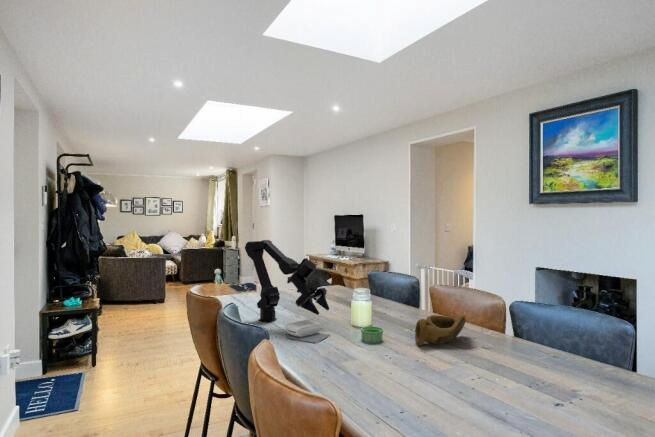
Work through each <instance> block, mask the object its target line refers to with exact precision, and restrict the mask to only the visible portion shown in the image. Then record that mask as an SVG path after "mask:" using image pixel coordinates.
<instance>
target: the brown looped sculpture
mask: <svg viewBox="0 0 655 437" xmlns="http://www.w3.org/2000/svg"><path fill="white" fill-rule="evenodd" d="M465 324H466V316H465V315H464V314H462V315H460V317H453V316H447V315H439V314H438V315H436V314H433V315H428V316H427V317H426V319H424V318H421V319H419V320H418V321H417V322H416V324H415V329H414V330H415V331H414V332H415V334H414V340H415V343H416V344H417V345H418V346H419V347H421V346H423V345H424V343H430V344H435V345H436V344H441V343H447V344H449V343H450V341H451V340H452V339H455V338H457V337H458V336H459V334H460V333H461V332H462V330H463V328H464V327H465Z"/></svg>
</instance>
